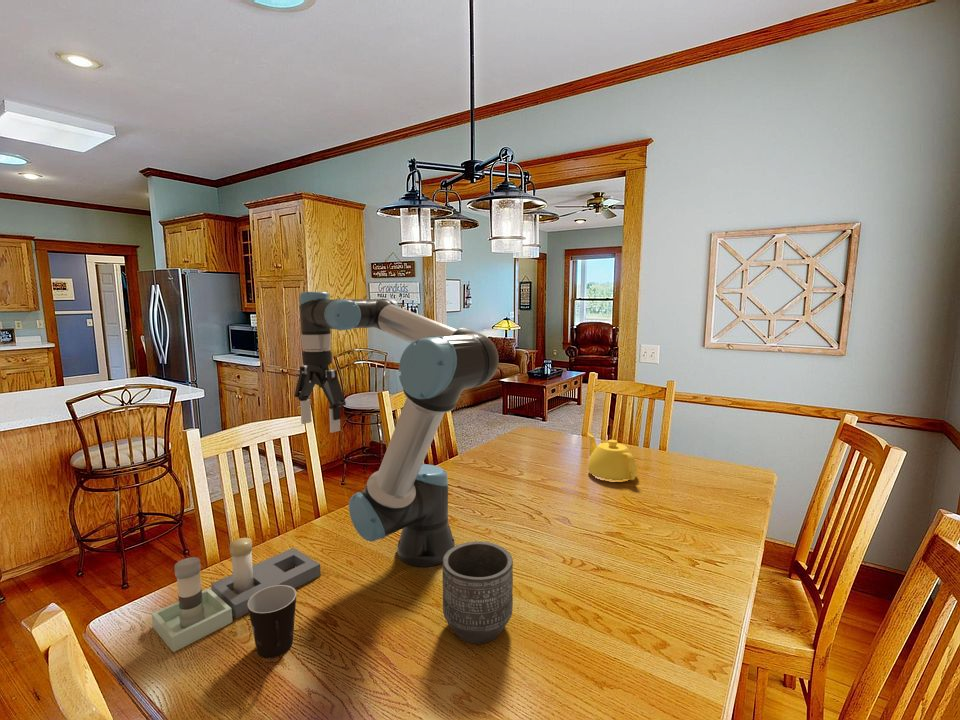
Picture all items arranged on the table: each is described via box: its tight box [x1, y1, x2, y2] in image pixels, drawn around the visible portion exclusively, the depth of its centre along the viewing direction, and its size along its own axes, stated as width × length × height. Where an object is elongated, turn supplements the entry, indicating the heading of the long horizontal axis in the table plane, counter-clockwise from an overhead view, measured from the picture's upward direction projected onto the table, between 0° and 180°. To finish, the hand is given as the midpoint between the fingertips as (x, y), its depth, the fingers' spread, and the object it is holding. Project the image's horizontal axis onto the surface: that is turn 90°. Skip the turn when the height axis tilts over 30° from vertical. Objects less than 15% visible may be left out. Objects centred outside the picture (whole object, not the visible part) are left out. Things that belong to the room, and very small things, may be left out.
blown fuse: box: [174, 556, 205, 629], centre depth 97 cm, size 4×4×13 cm
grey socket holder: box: [210, 537, 322, 619], centre depth 111 cm, size 12×20×13 cm, turn 141°
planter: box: [442, 540, 514, 645], centre depth 97 cm, size 14×14×15 cm
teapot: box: [587, 432, 637, 481], centre depth 181 cm, size 25×18×14 cm
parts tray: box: [151, 587, 233, 653], centre depth 98 cm, size 11×11×3 cm
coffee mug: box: [247, 585, 297, 659], centre depth 90 cm, size 12×9×10 cm
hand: (320, 427), depth 130 cm, fingers open, 13 cm apart
